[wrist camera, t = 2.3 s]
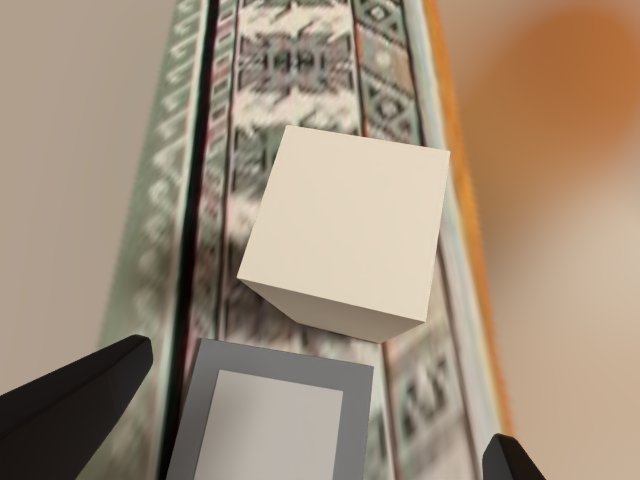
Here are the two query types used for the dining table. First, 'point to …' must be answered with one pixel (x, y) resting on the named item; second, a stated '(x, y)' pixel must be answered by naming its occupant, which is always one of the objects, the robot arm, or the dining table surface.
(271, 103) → the dining table surface
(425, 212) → the cream block
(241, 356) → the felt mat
